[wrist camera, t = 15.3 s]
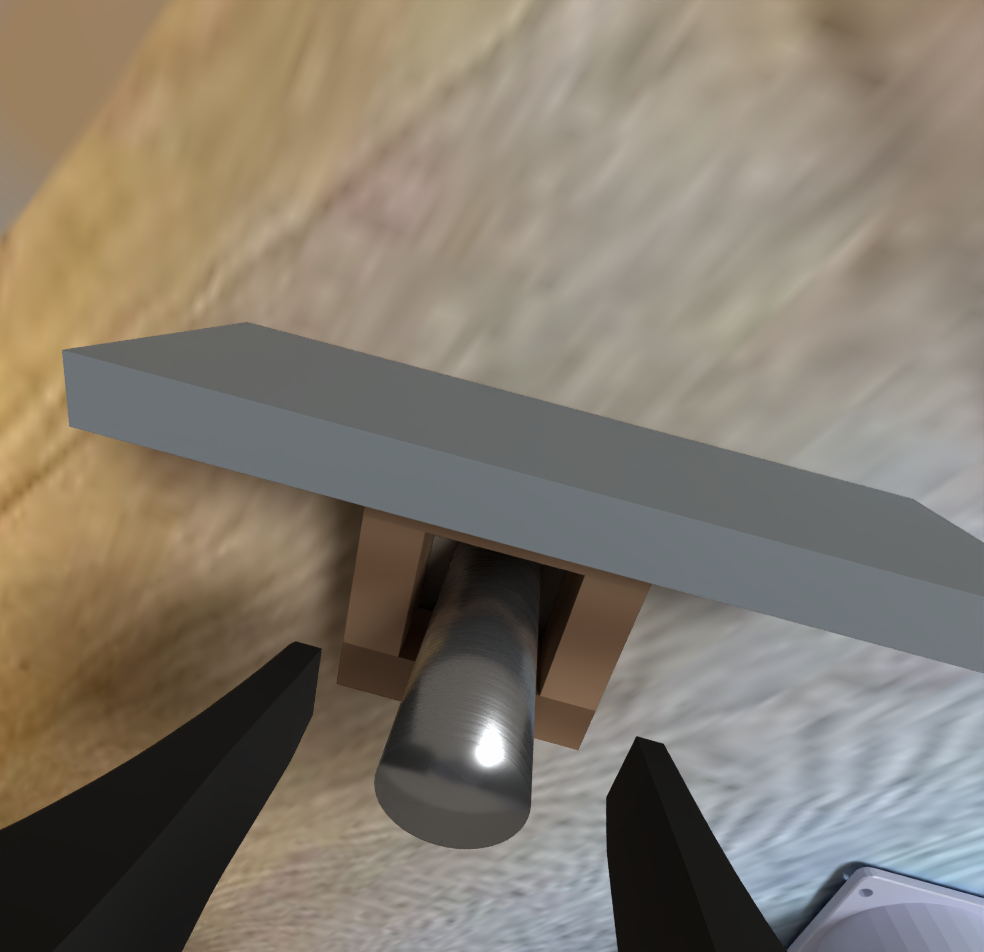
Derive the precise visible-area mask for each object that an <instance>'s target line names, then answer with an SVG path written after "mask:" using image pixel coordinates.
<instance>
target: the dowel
mask: <svg viewBox="0 0 984 952" xmlns="http://www.w3.org/2000/svg"><path fill="white" fill-rule="evenodd" d="M540 574H541V568H540V563H537V562H534V561H530V560H526V559H523V558H519V557H515V556H512V555H508V554H504V553H500V552H497V551H493V550H489V549H486V548H482V547H478V546H475V545H471V544H467V543H463V542H461V543H460V544H459V545H458V547H457V548H456V550H455V552H454V555H453V558H452V561H451V564H450V566H449V569H448V572H447V575H446V578H445V580H444V583H443V586H442V589H441V592H440V594H439V597H438V600H437V603H436V606H435V608H434V611H433V614H432V617H431V620H430V622H429V625H428V628H427V631H426V634H425V636H424V639H423V642H422V645H421V648H420V650H419V653H418V656H417V659H416V662H415V664H414V667H413V670H412V673H411V676H410V678H409V681H408V684H407V687H406V690H405V692H404V695H403V698H402V701H401V704H400V706H399V709H398V712H397V715H396V718H395V721H394V723H393V726H392V729H391V732H390V735H389V737H388V740H387V743H386V746H385V749H384V751H383V754H382V757H381V760H380V763H379V765H378V768H377V771H376V774H375V781H374V784H375V792H376V796H377V799H378V801H379V803H380V805H381V807H382V808H383V810H384V811H385V813H386V814H387V815H388V816H389V817H390V818H391V819H392V820H393V821H394V822H395V823H396V824H397V825H398V826H399V827H401V828H402V829H403V830H405V831H406V832H408V833H410V834H411V835H413V836H415V837H417V838H419V839H421V840H424V841H426V842H429V843H432V844H435V845H439V846H443V847H448V848H455V849H478V848H485V847H489V846H493V845H496V844H499V843H502V842H504V841H506V840H508V839H509V838H511V837H512V836H514V835H515V834H516V833H517V832H518V831H520V830H521V828H522V827H523V826H524V824H525V823H526V821H527V819H528V817H529V813H530V808H531V790H532V766H533V742H534V718H535V694H536V670H537V646H538V622H539V598H540Z"/></svg>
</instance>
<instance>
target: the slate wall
mask: <svg viewBox="0 0 984 952" xmlns="http://www.w3.org/2000/svg"><path fill="white" fill-rule="evenodd" d="M62 354H63V365H64V375H65V385H66V396H67V406H68V417H69V426H70V427H73V428H77V429H81V430H85V431H88V432H92V433H96V434H99V435H103V436H107V437H111V438H114V439H118V440H122V441H125V442H129V443H133V444H136V445H140V446H144V447H148V448H151V449H155V450H159V451H162V452H166V453H170V454H173V455H177V456H181V457H185V458H188V459H192V460H196V461H199V462H203V463H207V464H211V465H214V466H218V467H222V468H225V469H229V470H233V471H236V472H240V473H244V474H248V475H251V476H255V477H259V478H262V479H266V480H270V481H273V482H277V483H281V484H285V485H288V486H292V487H296V488H299V489H303V490H307V491H311V492H314V493H318V494H322V495H325V496H329V497H333V498H336V499H340V500H344V501H348V502H351V503H355V504H359V505H362V506H366V507H370V508H374V509H377V510H381V511H385V512H388V513H392V514H396V515H399V516H403V517H407V518H411V519H414V520H418V521H422V522H425V523H429V524H433V525H436V526H440V527H444V528H448V529H451V530H455V531H459V532H462V533H466V534H470V535H474V536H477V537H481V538H485V539H488V540H492V541H496V542H499V543H503V544H507V545H511V546H514V547H518V548H522V549H525V550H529V551H533V552H536V553H540V554H544V555H548V556H551V557H555V558H559V559H562V560H566V561H570V562H574V563H577V564H581V565H585V566H588V567H592V568H596V569H599V570H603V571H607V572H611V573H614V574H618V575H622V576H625V577H629V578H633V579H636V580H640V581H644V582H648V583H651V584H655V585H659V586H662V587H666V588H670V589H674V590H677V591H681V592H685V593H688V594H692V595H696V596H699V597H703V598H707V599H711V600H714V601H718V602H722V603H725V604H729V605H733V606H736V607H740V608H744V609H748V610H751V611H755V612H759V613H762V614H766V615H770V616H774V617H777V618H781V619H785V620H788V621H792V622H796V623H799V624H803V625H807V626H811V627H814V628H818V629H822V630H825V631H829V632H833V633H836V634H840V635H844V636H848V637H851V638H855V639H859V640H862V641H866V642H870V643H874V644H877V645H881V646H885V647H888V648H892V649H896V650H899V651H903V652H907V653H911V654H914V655H918V656H922V657H925V658H929V659H933V660H937V661H940V662H944V663H948V664H951V665H955V666H959V667H962V668H966V669H970V670H974V671H977V672H981V673H984V543H983V542H982V541H980V540H979V539H977V538H975V537H974V536H972V535H970V534H969V533H967V532H966V531H964V530H962V529H961V528H959V527H958V526H956V525H954V524H953V523H951V522H949V521H948V520H946V519H945V518H943V517H941V516H940V515H938V514H936V513H935V512H933V511H932V510H930V509H928V508H927V507H925V506H923V505H922V504H920V503H919V502H917V501H915V500H914V499H910V498H907V497H903V496H899V495H895V494H891V493H888V492H884V491H880V490H876V489H873V488H869V487H865V486H861V485H858V484H854V483H850V482H846V481H843V480H839V479H835V478H831V477H828V476H824V475H820V474H816V473H812V472H809V471H805V470H801V469H797V468H794V467H790V466H786V465H782V464H779V463H775V462H771V461H767V460H764V459H760V458H756V457H752V456H748V455H745V454H741V453H737V452H733V451H730V450H726V449H722V448H718V447H715V446H711V445H707V444H703V443H700V442H696V441H692V440H688V439H685V438H681V437H677V436H673V435H669V434H666V433H662V432H658V431H654V430H651V429H647V428H643V427H639V426H636V425H632V424H628V423H624V422H621V421H617V420H613V419H609V418H606V417H602V416H598V415H594V414H590V413H587V412H583V411H579V410H575V409H572V408H568V407H564V406H560V405H557V404H553V403H549V402H545V401H542V400H538V399H534V398H530V397H527V396H523V395H519V394H515V393H511V392H508V391H504V390H500V389H496V388H493V387H489V386H485V385H481V384H478V383H474V382H470V381H466V380H463V379H459V378H455V377H451V376H447V375H444V374H440V373H436V372H432V371H429V370H425V369H421V368H417V367H414V366H410V365H406V364H402V363H399V362H395V361H391V360H387V359H384V358H380V357H376V356H372V355H368V354H365V353H361V352H357V351H353V350H350V349H346V348H342V347H338V346H335V345H331V344H327V343H323V342H320V341H316V340H312V339H308V338H305V337H301V336H297V335H293V334H289V333H286V332H282V331H278V330H274V329H271V328H267V327H263V326H259V325H256V324H252V323H248V322H245V323H239V324H232V325H225V326H219V327H212V328H205V329H198V330H192V331H185V332H178V333H172V334H165V335H158V336H152V337H145V338H138V339H132V340H125V341H118V342H112V343H105V344H98V345H92V346H85V347H78V348H71V349H65V350H62Z"/></svg>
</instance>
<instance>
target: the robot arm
mask: <svg viewBox="0 0 984 952" xmlns="http://www.w3.org/2000/svg"><path fill="white" fill-rule="evenodd" d="M321 650H322V649H321V648H318V647H314V646H311V645H307V644H303V643H300V642H296V641H295V642H293V643H291V644H290V645H288V646H287V647H286V648H285V649H284V650H282V651H281V652H280V653H279V654H277V655H276V656H275V657H274V658H273V659H271V660H270V661H269V662H268V663H266V664H265V665H264V666H263V667H261V668H260V669H259V670H258V671H256V672H255V673H254V674H253V675H251V676H250V677H249V678H247V679H246V680H245V681H244V682H242V683H241V684H240V685H238V686H237V687H236V688H234V689H233V690H232V691H230V692H229V693H228V694H226V695H225V696H224V697H222V698H221V699H219V700H218V701H217V702H215V703H214V704H213V705H211V706H210V707H209V708H207V709H206V710H204V711H203V712H202V713H200V714H199V715H197V716H196V717H194V718H193V719H191V720H190V721H188V722H187V723H185V724H184V725H183V726H181V727H180V728H178V729H177V730H175V731H174V732H172V733H171V734H169V735H168V736H166V737H165V738H163V739H162V740H160V741H159V742H157V743H156V744H154V745H153V746H151V747H149V748H148V749H146V750H145V751H143V752H141V753H140V754H138V755H137V756H135V757H133V758H132V759H130V760H129V761H127V762H125V763H124V764H122V765H120V766H118V767H117V768H115V769H113V770H112V771H110V772H108V773H107V774H105V775H103V776H102V777H100V778H98V779H96V780H95V781H93V782H91V783H89V784H87V785H85V786H84V787H82V788H80V789H78V790H76V791H75V792H73V793H71V794H69V795H67V796H65V797H64V798H62V799H60V800H58V801H56V802H54V803H53V804H51V805H49V806H47V807H45V808H43V809H41V810H39V811H37V812H35V813H34V814H32V815H30V816H28V817H26V818H24V819H22V820H20V821H18V822H16V823H14V824H12V825H10V826H8V827H5V828H3V829H1V830H0V952H182V950H183V948H184V946H185V944H186V942H187V940H188V939H189V937H190V935H191V933H192V931H193V929H194V927H195V925H196V923H197V921H198V919H199V917H200V915H201V913H202V911H203V909H204V907H205V905H206V903H207V901H208V899H209V897H210V895H211V894H212V892H213V890H214V888H215V887H216V885H217V883H218V881H219V879H220V878H221V876H222V874H223V872H224V871H225V869H226V867H227V866H228V864H229V862H230V861H231V859H232V857H233V856H234V854H235V852H236V851H237V849H238V848H239V846H240V844H241V843H242V841H243V839H244V838H245V836H246V834H247V833H248V831H249V829H250V828H251V826H252V824H253V823H254V821H255V819H256V818H257V816H258V815H259V813H260V811H261V810H262V808H263V806H264V805H265V803H266V801H267V800H268V798H269V796H270V795H271V793H272V791H273V790H274V788H275V786H276V785H277V783H278V781H279V780H280V778H281V776H282V775H283V773H284V771H285V770H286V768H287V766H288V765H289V763H290V761H291V759H292V757H293V755H294V753H295V751H296V749H297V747H298V745H299V743H300V741H301V738H302V736H303V734H304V732H305V730H306V728H307V726H308V723H309V721H310V719H311V717H312V715H313V708H314V701H315V694H316V686H317V679H318V672H319V665H320V657H321ZM606 838H607V858H608V868H609V877H610V886H611V895H612V904H613V912H614V921H615V929H616V938H617V946H618V952H984V898H981V897H977V896H974V895H970V894H966V893H963V892H959V891H956V890H952V889H948V888H945V887H941V886H937V885H934V884H930V883H927V882H923V881H919V880H916V879H912V878H908V877H905V876H901V875H898V874H894V873H890V872H887V871H883V870H879V869H876V868H872V867H862V868H859V869H857V870H856V871H855V872H854V873H853V874H852V875H851V877H850V878H849V879H848V880H847V881H846V882H845V884H844V885H843V886H842V887H841V888H840V889H839V890H838V892H837V893H836V894H835V895H834V896H833V897H832V899H831V900H830V901H829V902H828V903H827V904H826V905H825V907H824V908H823V909H822V910H821V911H820V912H819V913H818V915H817V916H816V917H815V918H814V919H813V920H812V922H811V923H810V924H809V925H808V926H807V927H806V928H805V930H804V931H803V932H802V933H801V934H800V935H799V937H798V938H797V939H796V940H795V941H794V942H793V943H792V945H791V946H790V947H789V948H788V949H787V950H785V948H784V947H783V945H782V944H781V942H780V941H779V939H778V938H777V936H776V935H775V933H774V932H773V930H772V929H771V927H770V926H769V924H768V923H767V921H766V920H765V918H764V917H763V915H762V914H761V912H760V910H759V909H758V907H757V906H756V904H755V903H754V901H753V899H752V898H751V896H750V895H749V893H748V892H747V890H746V888H745V887H744V885H743V884H742V882H741V880H740V879H739V877H738V875H737V874H736V872H735V870H734V869H733V867H732V865H731V864H730V862H729V860H728V859H727V857H726V855H725V853H724V852H723V850H722V848H721V847H720V845H719V843H718V841H717V840H716V838H715V836H714V834H713V833H712V831H711V829H710V828H709V826H708V824H707V822H706V820H705V819H704V817H703V815H702V813H701V811H700V810H699V808H698V806H697V804H696V802H695V800H694V799H693V797H692V795H691V793H690V791H689V790H688V788H687V786H686V784H685V782H684V780H683V778H682V777H681V775H680V773H679V771H678V769H677V767H676V766H675V764H674V762H673V760H672V758H671V756H670V755H669V753H668V751H667V749H666V747H665V745H664V744H663V743H659V742H655V741H652V740H648V739H645V738H641V737H637V736H636V738H635V740H634V742H633V744H632V746H631V748H630V750H629V752H628V754H627V756H626V759H625V761H624V763H623V765H622V767H621V769H620V771H619V773H618V775H617V777H616V779H615V781H614V783H613V785H612V787H611V789H610V791H609V793H608V795H607V797H606Z"/></svg>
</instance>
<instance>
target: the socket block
mask: <svg viewBox="0 0 984 952" xmlns="http://www.w3.org/2000/svg"><path fill="white" fill-rule="evenodd" d="M434 535H438V536H441V537H445V538H449V539H452V540H456V541H460V542H463V543H467V544H471V545H475V546H478V547H482V548H486V549H489V550H493V551H497V552H500V553H504V554H508V555H512V556H515V557H519V558H523V559H526V560H530V561H534V562H537V563H541V564H545V565H549V566H552V567H556V568H560V569H563V570H567V571H566V574H565V577H564V579H563V582H562V585H561V588H560V591H559V593H558V596H557V599H556V602H555V605H554V607H553V610H552V613H551V616H550V619H549V622H548V624H547V627H546V630H545V633H544V636H543V638H542V641H541V640H538V646H537V670H536V694H535V718H534V738H536V739H539V740H543V741H547V742H550V743H554V744H558V745H561V746H565V747H569V748H572V749H576V750H579V747H580V745H581V743H582V741H583V738H584V736H585V734H586V732H587V729H588V727H589V725H590V722H591V720H592V718H593V716H594V713H595V711H596V709H597V707H598V704H599V702H600V700H601V697H602V695H603V693H604V691H605V688H606V686H607V684H608V682H609V679H610V677H611V675H612V672H613V670H614V668H615V666H616V663H617V661H618V659H619V657H620V654H621V652H622V650H623V647H624V645H625V643H626V641H627V638H628V636H629V634H630V632H631V629H632V627H633V625H634V622H635V620H636V618H637V616H638V613H639V611H640V609H641V607H642V604H643V602H644V600H645V597H646V595H647V593H648V591H649V588H650V586H651V583H648V582H644V581H640V580H636V579H633V578H629V577H625V576H622V575H618V574H614V573H611V572H607V571H603V570H599V569H596V568H592V567H588V566H585V565H581V564H577V563H574V562H570V561H566V560H562V559H559V558H555V557H551V556H548V555H544V554H540V553H536V552H533V551H529V550H525V549H522V548H518V547H514V546H511V545H507V544H503V543H499V542H496V541H492V540H488V539H485V538H481V537H477V536H474V535H470V534H466V533H462V532H459V531H455V530H451V529H448V528H444V527H440V526H436V525H433V524H429V523H425V522H422V521H418V520H414V519H411V518H407V517H403V516H399V515H396V514H392V513H388V512H385V511H381V510H377V509H374V508H370V507H366V506H364V512H363V519H362V525H361V531H360V538H359V544H358V550H357V557H356V563H355V570H354V576H353V582H352V589H351V595H350V601H349V608H348V614H347V621H346V627H345V633H344V640H343V646H342V652H341V659H340V665H339V672H338V678H337V684H340V685H343V686H347V687H350V688H354V689H358V690H361V691H365V692H369V693H372V694H376V695H379V696H383V697H387V698H390V699H394V700H398V701H402V698H403V695H404V692H405V690H406V687H407V684H408V681H409V678H410V676H411V673H412V670H413V667H414V664H415V662H416V659H417V656H418V653H419V650H420V648H421V645H422V642H423V639H424V636H425V634H426V631H427V628H428V625H429V622H430V620H431V617H432V614H433V611H430V610H427V609H423V608H419V607H418V606H419V602H420V597H421V593H422V588H423V584H424V579H425V575H426V570H427V566H428V561H429V557H430V553H431V548H432V544H433V539H434Z"/></svg>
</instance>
